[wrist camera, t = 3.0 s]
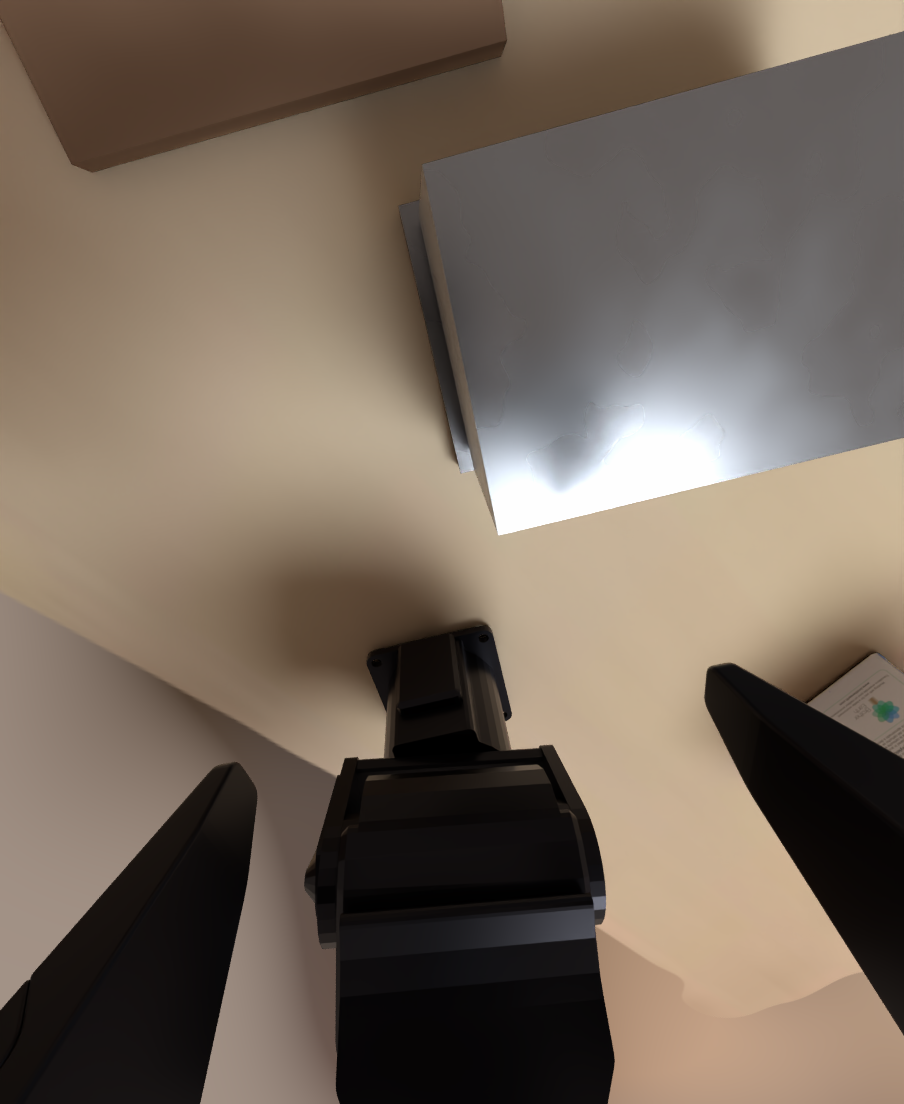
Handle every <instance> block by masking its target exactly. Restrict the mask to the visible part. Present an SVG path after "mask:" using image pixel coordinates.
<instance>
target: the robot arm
mask: <svg viewBox="0 0 904 1104" xmlns="http://www.w3.org/2000/svg"><path fill="white" fill-rule="evenodd" d="M482 634H485V635H487V636H486V637H484V638H481V637H479V636H480V635H482ZM375 659H378V660H380V661H379V662H375V661H373V660H375ZM367 666H368V669H369V671H370V674H371V676H372V678H373V681H374V683H375V686H376V688H377V690H378V693H379V695H380V698H381V700H382V702H383V705H384V707H385V710H386V712H387V717H386V733H385V749H384V758H378V759H362V760H359V758H358V757H354V758H345V760H344V763H343V767H342V770H341V774H340V775H338V776H337V779H336V782H335V786H334V789H333V793H332V796H331V800H330V803H329V807H328V811H327V814H326V818H325V821H324V825H323V828H322V831H321V835H320V839H319V842H318V846H317V849H316V851H315V854H314V856H313V858H312V860H311V862H310V864H309V866H308V868H307V870H306V874H305V882H304V886H305V891H306V892H307V893H308V895H309V896H310V898H311V899H312V900H313V901H314V903H315V909H316V916H317V926H318V936H319V942H320V945H321V947H322V949H331V948H336V1051H337V1071H336V1092H337V1096H338V1100H339V1103H340V1104H608V1099H609V1093H610V1087H611V1081H612V1076H613V1070H614V1062H615V1059H614V1051H613V1046H612V1040H611V1035H610V1029H609V1024H608V1018H607V1013H606V1007H605V1002H604V996H603V990H602V984H601V978H600V969H599V960H598V952H597V942H596V932H595V925H599V924H602V922H603V920H604V917H605V910H606V891H605V879H604V872H603V865H602V860H601V855H600V850H599V846H598V842H597V838H596V834H595V831H594V828H593V825H592V822H591V819H590V817H589V815H588V812H587V810H586V808H585V806H584V804H583V802H582V800H581V798H580V796H579V794H578V793H577V791H576V789H575V787H574V785H573V783H572V781H571V779H570V777H569V775H568V773H567V771H566V770H565V768H564V766H563V764H562V762H561V760H560V758H559V756H558V754H557V752H556V750H555V748H554V747H553V745H542V746H539V748H533V749H517V750H511V746H510V742H509V737H508V732H507V728H506V723H505V721H507V720H509V719H510V718H511V716H512V712H511V708H510V704H509V700H508V695H507V691H506V687H505V683H504V679H503V675H502V670H501V666H500V662H499V658H498V654H497V649H496V645H495V641H494V637H493V633H492V630H491V628H489V627H488V626H478V627H473V628H469V629H465V630H460V631H456V632H452V633H447V634H442V635H438V636H434V637H429V638H425V639H421V640H416V641H412V642H408V643H404V644H400V645H396V646H392V647H387V648H383V649H379V650H374V651H372V652H370V653H369V654H368V657H367ZM704 698H705V704H706V707H707V709H708V711H709V713H710V715H711V717H712V719H713V721H714V723H715V725H716V727H717V729H718V731H719V733H720V735H721V737H722V739H723V741H724V743H725V745H726V747H727V749H728V751H729V753H730V755H731V757H732V759H733V761H734V763H735V765H736V767H737V769H738V771H739V773H740V775H741V777H742V779H743V781H744V783H745V785H746V787H747V788H748V790H749V792H750V793H751V795H752V797H753V798H754V800H755V802H756V803H757V805H758V807H759V808H760V810H761V811H762V813H763V814H764V816H765V818H766V819H767V821H768V822H769V824H770V825H771V827H772V829H773V830H774V832H775V833H776V835H777V836H778V838H779V840H780V841H781V843H782V844H783V846H784V847H785V849H786V851H787V852H788V854H789V855H790V857H791V858H792V860H793V862H794V863H795V865H796V866H797V868H798V870H799V871H800V873H801V874H802V876H803V877H804V879H805V881H806V882H807V884H808V885H809V887H810V888H811V890H812V892H813V893H814V895H815V896H816V898H817V899H818V901H819V903H820V904H821V906H822V907H823V909H824V910H825V912H826V914H827V915H828V917H829V918H830V920H831V921H832V923H833V925H834V926H835V928H836V929H837V931H838V933H839V934H840V936H841V937H842V939H843V940H844V942H845V944H846V945H847V947H848V948H849V950H850V951H851V953H852V955H853V956H854V958H855V959H856V961H857V962H858V964H859V966H860V967H861V969H862V970H863V972H864V973H865V975H866V976H867V978H868V980H869V981H870V983H871V984H872V986H873V988H874V989H875V991H876V992H877V994H878V995H879V997H880V999H881V1000H882V1002H883V1003H884V1005H885V1006H886V1008H887V1010H888V1011H889V1013H890V1014H891V1016H892V1018H893V1019H894V1021H895V1022H896V1024H897V1025H898V1027H899V1029H900V1030H901V1032H902V1033H903V1035H904V758H902V757H901V756H899V755H897V754H895V753H893V752H892V751H890V750H888V749H886V748H885V747H883V746H881V745H879V744H877V743H876V742H874V741H872V740H870V739H868V738H867V737H865V736H863V735H861V734H859V733H858V732H856V731H854V730H852V729H851V728H849V727H847V726H845V725H843V724H842V723H840V722H838V721H836V720H834V719H833V718H831V717H829V716H827V715H825V714H824V713H822V712H820V711H818V710H817V709H815V708H813V707H811V706H809V705H808V704H806V703H804V702H802V701H800V700H799V699H797V698H795V697H793V696H791V695H790V694H788V693H786V692H784V691H783V690H781V689H779V688H777V687H775V686H774V685H772V684H770V683H768V682H766V681H765V680H763V679H761V678H759V677H757V676H756V675H754V674H752V673H750V672H749V671H747V670H745V669H743V668H741V667H740V666H738V665H736V664H733V663H723V664H718V665H713V666H710V667H709V668H708V670H707V674H706V685H705V695H704ZM503 712H504V713H503ZM256 806H257V790H256V787H255V785H254V783H253V782H252V780H251V779H250V777H249V776H248V774H247V773H246V771H245V770H244V769H243V767H242V766H241V765H240V764H239V763H237V762H231V763H226V764H221V765H218V766H216V767H214V768H213V769H212V770H211V771H210V772H209V773H208V774H207V775H206V777H205V778H204V779H203V780H202V781H201V782H200V783H199V785H198V786H197V787H196V788H195V789H194V790H193V792H192V793H191V794H190V795H189V796H188V797H187V798H186V799H185V801H184V802H183V803H182V804H181V805H180V806H179V807H178V809H177V810H176V811H175V812H174V813H173V814H172V815H171V817H170V818H169V819H168V820H167V821H166V822H165V823H164V824H163V826H162V827H161V828H160V829H159V830H158V832H157V833H156V834H155V835H154V836H153V837H152V838H151V839H150V840H149V842H148V843H147V844H146V845H145V846H144V847H143V848H142V850H141V851H140V852H139V853H138V854H137V855H136V857H135V858H134V859H133V860H132V861H131V862H130V863H129V864H128V866H127V867H126V868H125V869H124V870H123V871H122V872H121V874H120V875H119V876H118V877H117V878H116V880H114V881H113V883H112V884H111V885H110V886H109V887H108V888H107V889H106V891H105V892H104V893H103V894H102V895H101V896H100V897H99V899H98V900H97V901H96V902H95V903H94V904H93V905H92V907H91V908H90V909H89V910H88V911H87V912H86V914H85V915H84V916H83V917H82V918H81V919H80V920H79V921H78V923H77V924H76V925H75V926H74V927H73V928H72V929H71V931H70V932H69V933H68V934H67V935H66V936H65V938H64V939H63V940H62V941H61V942H60V943H59V944H58V945H57V947H56V948H55V949H54V950H53V951H52V952H51V954H50V955H49V956H48V957H47V958H46V959H45V960H44V961H43V963H42V964H41V965H40V966H39V967H38V968H37V969H36V970H35V972H34V973H33V974H32V976H31V979H30V980H27V981H26V982H25V983H24V984H23V985H22V986H21V988H19V990H18V991H17V992H16V993H15V994H14V995H13V997H12V998H11V999H10V1000H9V1001H8V1002H7V1003H6V1004H5V1006H4V1007H3V1008H2V1009H1V1010H0V1104H200V1102H201V1097H202V1092H203V1088H204V1083H205V1078H206V1074H207V1069H208V1065H209V1060H210V1055H211V1050H212V1046H213V1041H214V1036H215V1032H216V1026H217V1023H218V1018H219V1013H220V1008H221V1004H222V999H223V995H224V990H225V985H226V981H227V976H228V971H229V967H230V962H231V957H232V952H233V948H234V943H235V939H236V934H237V930H238V925H239V920H240V916H241V911H242V906H243V902H244V896H245V892H246V886H247V880H248V873H249V865H250V857H251V848H252V840H253V831H254V822H255V814H256Z"/></svg>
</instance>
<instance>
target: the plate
mask: <svg viewBox="0 0 904 1104" xmlns="http://www.w3.org/2000/svg"><path fill="white" fill-rule="evenodd" d="M0 18H1V20H2V22H3V24H4V26H5V28H6V30H7V32H8V35H9V37H10V39H11V41H12V43H13V45H14V47H15V49H16V51H17V53H18V55H19V57H20V59H21V61H22V63H23V65H24V67H25V70H26V72H27V74H28V76H29V78H30V80H31V82H32V84H33V86H34V88H35V90H36V92H37V94H38V96H39V98H40V100H41V102H42V104H43V107H44V109H45V111H46V113H47V115H48V117H49V119H50V121H51V123H52V125H53V127H54V129H55V131H56V133H57V135H58V137H59V139H60V142H61V144H62V146H63V148H64V150H65V152H66V154H67V156H68V158H69V160H70V162H71V164H72V165H75V166H77V167H80V168H82V169H85V170H87V171H90V172H95V171H99V170H102V169H106V168H109V167H113V166H116V165H120V164H123V163H127V162H130V161H134V160H137V159H141V158H144V157H148V156H151V155H155V154H158V153H162V152H166V151H169V150H173V149H176V148H180V147H183V146H187V145H190V144H194V143H197V142H201V141H204V140H208V139H211V138H215V137H218V136H222V135H225V134H229V133H232V132H236V131H239V130H243V129H247V128H250V127H254V126H257V125H261V124H264V123H268V122H271V121H275V120H278V119H282V118H285V117H289V116H292V115H296V114H299V113H303V112H306V111H310V110H313V109H317V108H320V107H324V106H328V105H331V104H335V103H338V102H342V101H345V100H349V99H352V98H356V97H359V96H363V95H366V94H370V93H373V92H377V91H380V90H384V89H387V88H391V87H394V86H398V85H401V84H405V83H409V82H412V81H416V80H419V79H423V78H426V77H430V76H433V75H437V74H440V73H444V72H447V71H451V70H454V69H458V68H461V67H465V66H468V65H472V64H475V63H479V62H482V61H486V60H490V59H493V58H497V57H500V56H501V55H502V52H503V49H504V46H505V44H506V41H507V38H506V30H505V22H504V14H503V6H502V0H0Z"/></svg>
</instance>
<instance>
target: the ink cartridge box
mask: <svg viewBox="0 0 904 1104" xmlns="http://www.w3.org/2000/svg"><path fill="white" fill-rule="evenodd" d="M807 704H808V705H809V706H811V707H813V708H815V709H817V710H818V711H820V712H822V713H824V714H825V715H827V716H829V717H831V718H833V719H834V720H836V721H838V722H840V723H842V724H843V725H845V726H847V727H849V728H851V729H852V730H854V731H856V732H858V733H859V734H861V735H863V736H865V737H867V738H868V739H870V740H872V741H874V742H876V743H877V744H879V745H881V746H883V747H885V748H886V749H888V750H890V751H892V752H893V753H895V754H897V755H899V756H901V757H902V758H904V673H903V672H902V671H901V670H899V669H898V668H897V667H895V666H894V665H893V664H892V663H891V662H889V661H888V660H887V659H886V658H885V657H883V656H882V655H880V654H879V653H874V654H871V655H870V656H869V657H867V658H866V659H865V660H863V661H862V662H861V663H860V664H858V665H857V666H856V667H854V668H853V669H852V670H850V671H849V672H848V673H847V674H845V675H844V676H843V677H841V678H840V679H839V680H837V681H836V682H835V683H834V684H832V685H831V686H830V687H828V688H827V689H826V690H825V691H823V692H822V693H821V694H819V695H818V696H817V697H815V698H814V699H813V700H811V701H810V702H809V703H807Z"/></svg>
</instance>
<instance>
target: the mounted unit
mask: <svg viewBox="0 0 904 1104" xmlns="http://www.w3.org/2000/svg"><path fill="white" fill-rule="evenodd" d="M399 212H400V216H401V221H402V225H403V229H404V233H405V238H406V242H407V246H408V251H409V255H410V259H411V264H412V268H413V272H414V276H415V281H416V285H417V289H418V294H419V298H420V302H421V306H422V311H423V315H424V319H425V324H426V328H427V332H428V336H429V341H430V345H431V349H432V354H433V358H434V362H435V367H436V371H437V375H438V379H439V384H440V388H441V392H442V397H443V401H444V405H445V409H446V414H447V418H448V422H449V427H450V431H451V435H452V439H453V444H454V448H455V452H456V457H457V461H458V465H459V469H460V472H461V473H464V472H468V471H472V470H475V473H476V475H477V478H478V481H479V484H480V486H481V489H482V492H483V494H484V497H485V500H486V503H487V505H488V508H489V511H490V513H491V516H492V519H493V522H494V524H495V527H496V530H497V532H498V535H501V534H506V533H510V532H514V531H518V530H522V529H526V528H531V527H535V526H539V525H543V524H547V523H551V522H555V521H560V520H564V519H568V518H572V517H576V516H580V515H585V514H589V513H593V512H597V511H601V510H605V509H609V508H614V507H618V506H622V505H626V504H630V503H634V502H639V501H643V500H647V499H651V498H655V497H659V496H663V495H668V494H672V493H676V492H680V491H684V490H688V489H693V488H697V487H701V486H705V485H709V484H713V483H718V482H722V481H726V480H730V479H734V478H738V477H742V476H747V475H751V474H755V473H759V472H763V471H767V470H772V469H776V468H780V467H784V466H788V465H792V464H796V463H801V462H805V461H809V460H813V459H817V458H821V457H826V456H830V455H834V454H838V453H842V452H846V451H851V450H855V449H859V448H863V447H867V446H871V445H875V444H880V443H884V442H888V441H892V440H896V439H900V438H904V31H903V32H899V33H896V34H892V35H889V36H885V37H881V38H878V39H874V40H870V41H867V42H863V43H860V44H856V45H852V46H849V47H845V48H841V49H838V50H834V51H831V52H827V53H823V54H820V55H816V56H813V57H809V58H805V59H802V60H798V61H794V62H791V63H787V64H784V65H780V66H776V67H773V68H769V69H765V70H762V71H758V72H755V73H751V74H747V75H744V76H740V77H736V78H733V79H729V80H726V81H722V82H718V83H715V84H711V85H707V86H704V87H700V88H697V89H693V90H689V91H686V92H682V93H679V94H675V95H671V96H668V97H664V98H660V99H657V100H653V101H650V102H646V103H642V104H639V105H635V106H631V107H628V108H624V109H621V110H617V111H613V112H610V113H606V114H602V115H599V116H595V117H592V118H588V119H584V120H581V121H577V122H574V123H570V124H566V125H563V126H559V127H555V128H552V129H548V130H545V131H541V132H537V133H534V134H530V135H526V136H523V137H519V138H516V139H512V140H508V141H505V142H501V143H497V144H494V145H490V146H487V147H483V148H479V149H476V150H472V151H468V152H465V153H461V154H458V155H454V156H450V157H447V158H443V159H440V160H436V161H432V162H429V163H425V164H422V173H421V187H420V200H418V201H414V202H411V203H407V204H403V205H400V206H399Z"/></svg>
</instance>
